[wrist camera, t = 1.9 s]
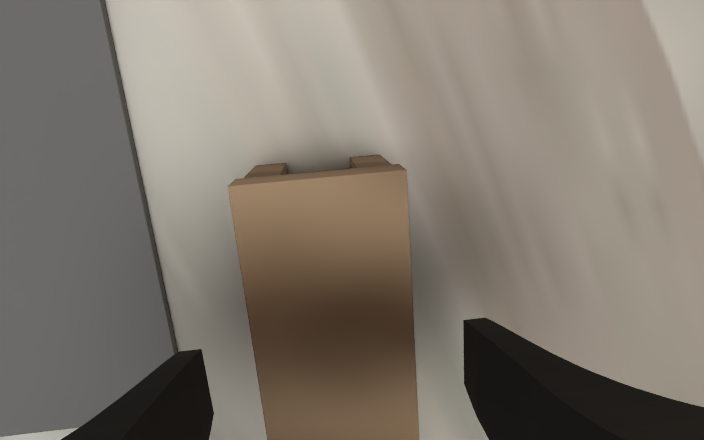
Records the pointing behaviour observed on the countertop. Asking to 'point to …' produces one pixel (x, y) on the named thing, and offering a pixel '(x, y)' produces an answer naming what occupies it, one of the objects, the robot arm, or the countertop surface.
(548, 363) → the robot arm
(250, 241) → the stool
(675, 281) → the countertop surface
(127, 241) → the mat
